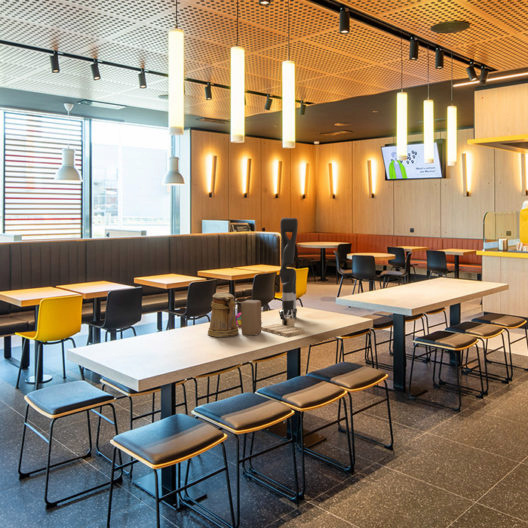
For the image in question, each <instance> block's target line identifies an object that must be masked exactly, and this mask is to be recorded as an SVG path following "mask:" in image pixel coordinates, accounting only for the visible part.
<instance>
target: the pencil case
mask: <svg viewBox="0 0 528 528" xmlns="http://www.w3.org/2000/svg"><path fill="white" fill-rule="evenodd" d="M235 316H236V324H237V327H241V312H238V313H237V314H235Z"/></svg>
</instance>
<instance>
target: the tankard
mask: <svg viewBox="0 0 528 528" xmlns="http://www.w3.org/2000/svg"><path fill="white" fill-rule="evenodd" d="M235 301H236V298H235V296H234V295H233V294H231V293H229V292H216V293H214V294H213V295H212V301H211V304H210V305H211V314H210V315H211V316H210V322H209V327H208V330H207V335H208V336H210V337H214V338H228V337H234V336H237V335H239V326H237V324H236V310H235V309H236V307H237V306H236V302H235Z"/></svg>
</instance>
